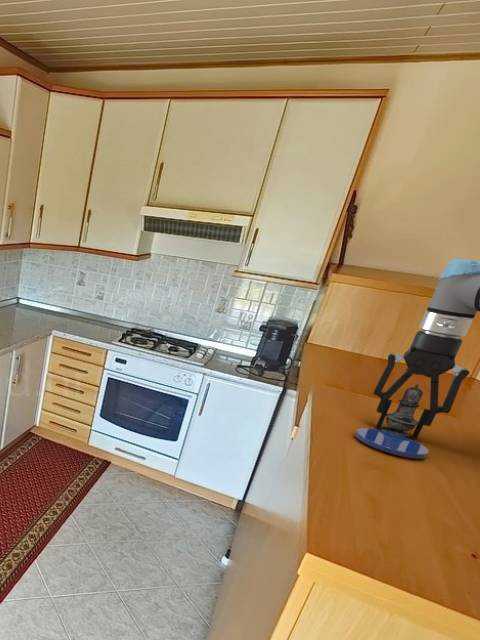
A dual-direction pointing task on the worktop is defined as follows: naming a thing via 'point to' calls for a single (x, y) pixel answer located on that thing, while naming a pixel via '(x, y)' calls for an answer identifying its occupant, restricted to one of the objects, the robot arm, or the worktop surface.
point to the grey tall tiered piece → (404, 413)
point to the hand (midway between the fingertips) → (396, 431)
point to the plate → (392, 443)
